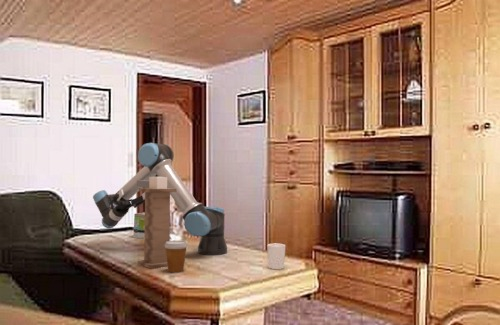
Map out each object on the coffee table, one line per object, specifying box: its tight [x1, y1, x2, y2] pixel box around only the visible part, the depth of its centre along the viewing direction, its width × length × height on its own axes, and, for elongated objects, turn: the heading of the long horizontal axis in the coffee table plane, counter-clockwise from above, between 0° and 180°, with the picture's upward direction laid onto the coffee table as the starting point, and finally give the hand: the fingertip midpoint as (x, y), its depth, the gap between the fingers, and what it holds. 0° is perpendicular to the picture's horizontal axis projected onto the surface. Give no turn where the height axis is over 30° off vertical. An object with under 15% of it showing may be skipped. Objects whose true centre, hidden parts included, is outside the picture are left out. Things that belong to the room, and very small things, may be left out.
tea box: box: [133, 211, 145, 240], centre depth 280 cm, size 15×10×15 cm, turn 159°
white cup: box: [267, 242, 286, 270], centre depth 200 cm, size 8×8×10 cm
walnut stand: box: [137, 187, 176, 270], centre depth 203 cm, size 12×12×34 cm
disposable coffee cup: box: [165, 240, 188, 273], centre depth 192 cm, size 10×10×12 cm
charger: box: [137, 176, 167, 189], centre depth 207 cm, size 20×5×5 cm, turn 41°
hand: (135, 191), depth 218 cm, fingers open, 13 cm apart
